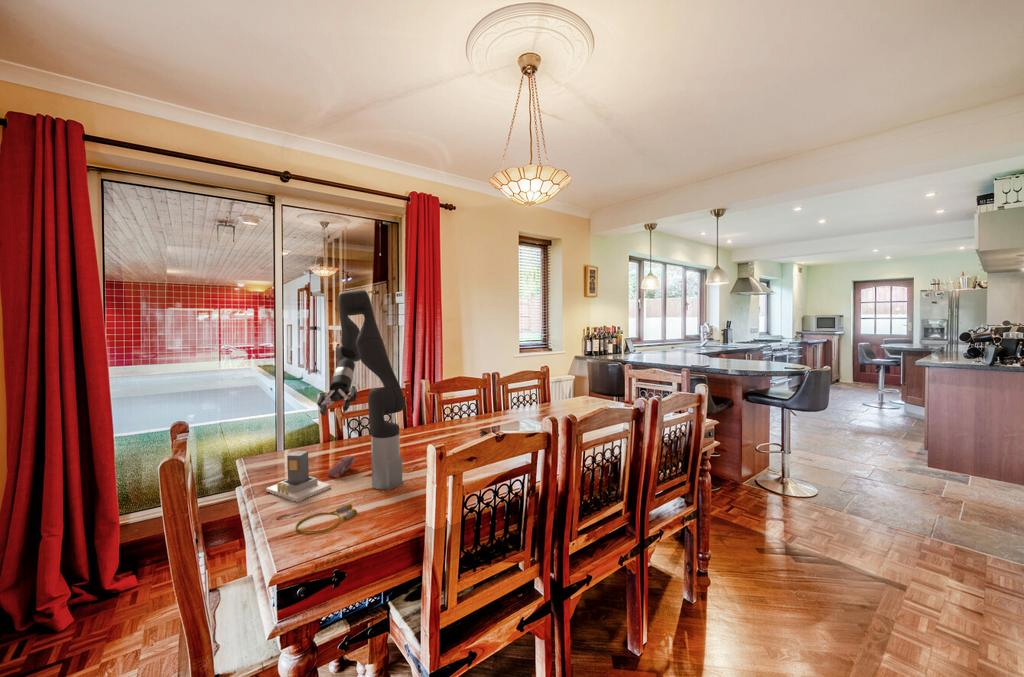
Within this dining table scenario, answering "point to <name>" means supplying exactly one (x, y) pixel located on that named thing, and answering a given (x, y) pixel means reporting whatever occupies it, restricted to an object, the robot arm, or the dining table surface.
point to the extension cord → (340, 509)
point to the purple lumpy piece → (341, 466)
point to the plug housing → (298, 467)
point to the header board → (298, 489)
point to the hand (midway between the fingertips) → (333, 412)
